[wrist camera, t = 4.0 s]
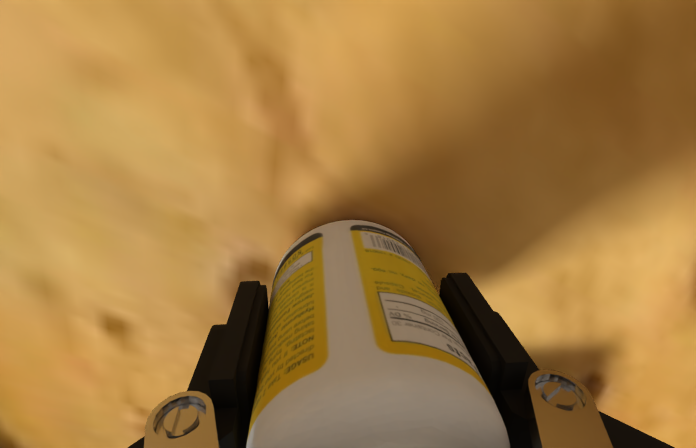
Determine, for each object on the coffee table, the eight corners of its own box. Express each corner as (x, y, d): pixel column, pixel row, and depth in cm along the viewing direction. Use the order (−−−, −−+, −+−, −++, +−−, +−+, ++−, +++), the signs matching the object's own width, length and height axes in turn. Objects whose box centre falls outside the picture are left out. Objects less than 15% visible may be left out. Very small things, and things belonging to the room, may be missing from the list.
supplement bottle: (290, 352, 15) (255, 790, 6) (258, 229, 13) (127, 632, 4) (426, 330, 15) (588, 729, 6) (417, 203, 13) (653, 540, 4)
